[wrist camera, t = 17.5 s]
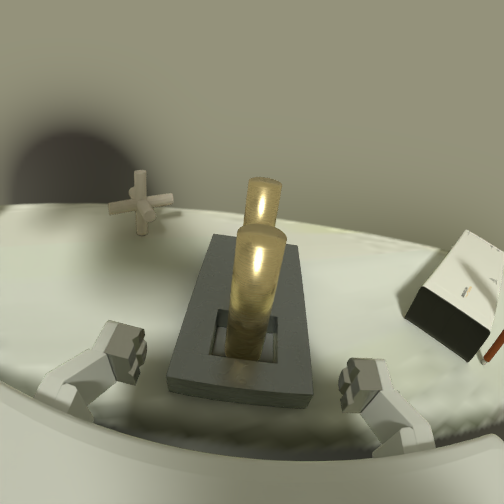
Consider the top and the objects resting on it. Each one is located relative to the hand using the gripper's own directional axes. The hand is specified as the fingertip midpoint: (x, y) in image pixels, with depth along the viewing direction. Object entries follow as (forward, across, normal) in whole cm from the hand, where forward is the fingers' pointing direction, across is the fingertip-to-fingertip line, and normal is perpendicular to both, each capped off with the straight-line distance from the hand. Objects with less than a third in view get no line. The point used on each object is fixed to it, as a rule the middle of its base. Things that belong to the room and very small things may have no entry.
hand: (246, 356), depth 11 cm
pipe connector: (+32, +17, +15) cm, 39 cm away
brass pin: (+12, -1, +14) cm, 19 cm away
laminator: (+27, -37, +14) cm, 48 cm away
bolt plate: (+18, -1, +14) cm, 23 cm away
